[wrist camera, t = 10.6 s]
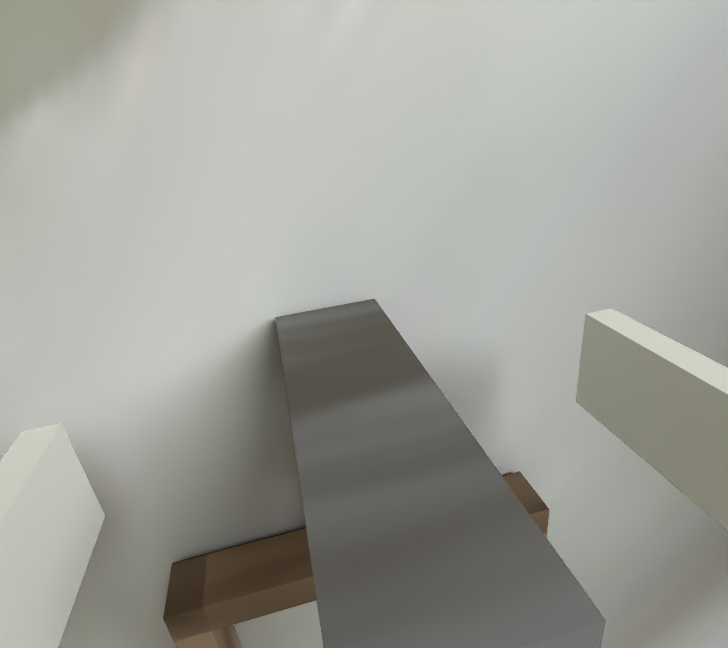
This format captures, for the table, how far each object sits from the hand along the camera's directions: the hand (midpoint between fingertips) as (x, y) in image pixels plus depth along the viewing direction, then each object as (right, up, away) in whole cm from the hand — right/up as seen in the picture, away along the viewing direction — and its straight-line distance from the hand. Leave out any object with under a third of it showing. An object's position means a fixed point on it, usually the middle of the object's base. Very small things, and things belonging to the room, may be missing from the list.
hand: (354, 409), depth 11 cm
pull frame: (+1, -11, +9) cm, 14 cm away
